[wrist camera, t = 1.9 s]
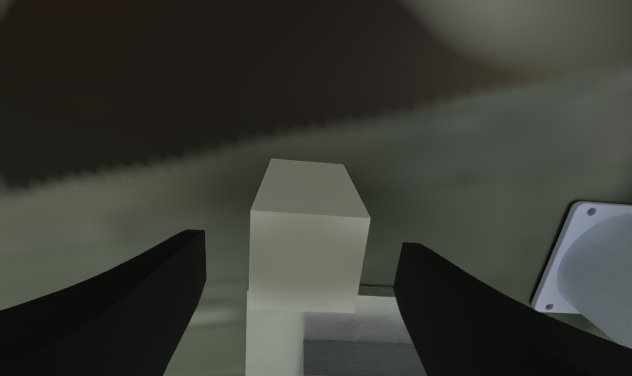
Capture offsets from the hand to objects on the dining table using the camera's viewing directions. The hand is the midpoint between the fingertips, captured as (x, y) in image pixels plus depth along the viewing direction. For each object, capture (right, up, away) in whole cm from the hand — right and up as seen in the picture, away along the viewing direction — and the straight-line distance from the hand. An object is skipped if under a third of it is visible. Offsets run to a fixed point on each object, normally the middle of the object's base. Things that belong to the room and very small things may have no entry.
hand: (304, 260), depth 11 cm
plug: (0, +2, +6) cm, 7 cm away
